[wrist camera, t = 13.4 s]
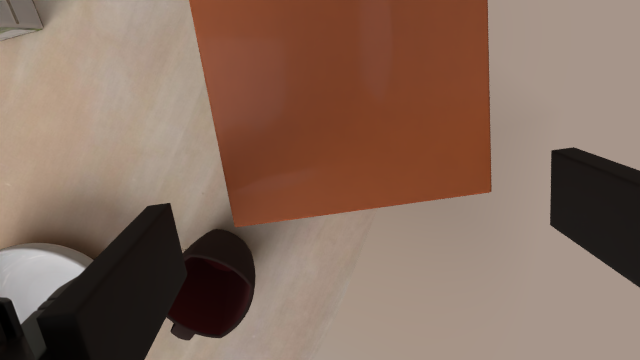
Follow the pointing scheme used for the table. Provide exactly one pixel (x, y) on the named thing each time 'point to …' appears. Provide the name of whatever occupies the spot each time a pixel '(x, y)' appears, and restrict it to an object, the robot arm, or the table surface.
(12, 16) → the syrup box
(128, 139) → the table surface
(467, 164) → the terracotta rectangular block
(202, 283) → the mug
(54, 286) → the serving bowl
